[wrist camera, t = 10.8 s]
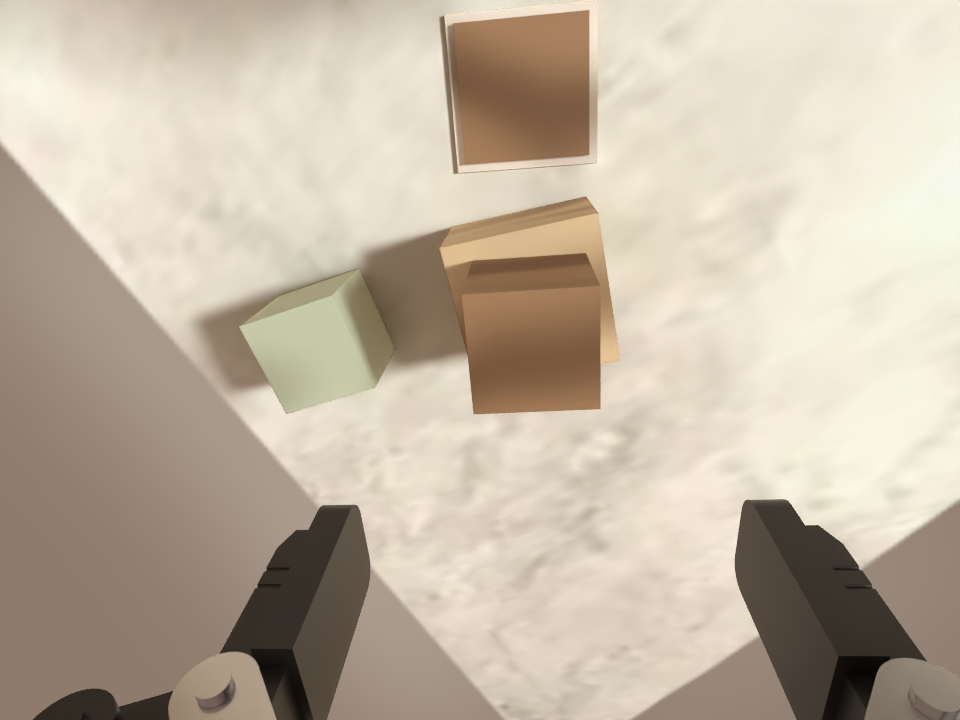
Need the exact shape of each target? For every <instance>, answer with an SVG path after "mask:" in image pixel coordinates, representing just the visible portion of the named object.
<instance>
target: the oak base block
mask: <svg viewBox="0 0 960 720" xmlns="http://www.w3.org/2000/svg"><path fill="white" fill-rule="evenodd" d="M440 252H441V256H442V259H443V263H444V267H445V271H446V275H447V278H448V282H449V286H450V290H451V294H452V297H453V301H454V305H455V309H456V313H457V316H458V320H459V324H460V328H461V332H462V335H463V339H464V343H465V347H466V351H467V342H466V332H465V322H464V312H463V302H462V292H463V289H464V286H465V282H466V279H467V276H468V273H469V269H470V266H471V263H472V261H474V260H489V259H504V258H519V257H534V256H549V255H564V254H579V253H586V254H587V257H588V259H589V261H590V263H591V266H592V268H593V270H594V272H595V275H596V277H597V279H598V281H599V284H600V286H601V340H600V364H605V363H611V362H616V361H620V355H619V349H618V342H617V335H616V329H615V322H614V315H613V309H612V302H611V296H610V289H609V282H608V276H607V269H606V262H605V256H604V249H603V243H602V236H601V229H600V223H599V216H598V212H597V211H596V210H595V208H594V207H593V205H592V204H591V203H590V201H589V200H588V199H587V197H582V198H578V199H573V200H569V201H565V202H560V203H556V204H551V205H547V206H543V207H538V208H534V209H529V210H525V211H521V212H516V213H512V214H507V215H503V216H499V217H494V218H490V219H485V220H481V221H477V222H472V223H468V224H463V225H459V226H455V227H451V229H450V231H449V232H448V234H447V236H446V238H445V239H444V241H443V243H442V245H441V247H440ZM467 354H468V352H467Z"/></svg>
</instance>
